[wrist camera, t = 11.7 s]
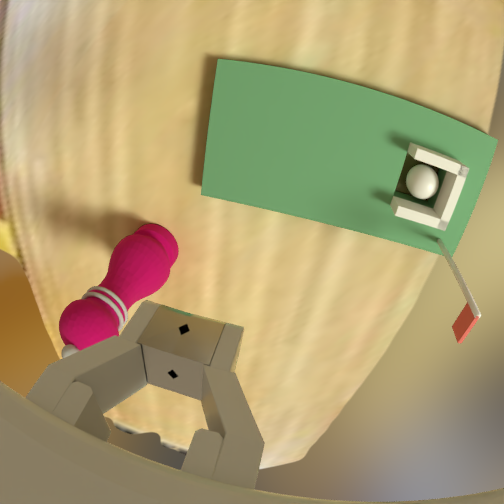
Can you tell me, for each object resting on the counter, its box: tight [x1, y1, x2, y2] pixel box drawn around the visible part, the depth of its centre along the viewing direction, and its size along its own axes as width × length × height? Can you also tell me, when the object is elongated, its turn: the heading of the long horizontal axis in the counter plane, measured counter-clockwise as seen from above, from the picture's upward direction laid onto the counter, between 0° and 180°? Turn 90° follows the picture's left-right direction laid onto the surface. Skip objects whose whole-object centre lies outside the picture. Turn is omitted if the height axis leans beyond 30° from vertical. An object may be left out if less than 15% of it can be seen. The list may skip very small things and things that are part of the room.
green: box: [201, 59, 498, 343], centre depth 24 cm, size 16×28×14 cm, turn 81°
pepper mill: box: [59, 224, 178, 358], centre depth 32 cm, size 7×7×20 cm
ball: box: [406, 164, 439, 199], centre depth 28 cm, size 3×3×3 cm
